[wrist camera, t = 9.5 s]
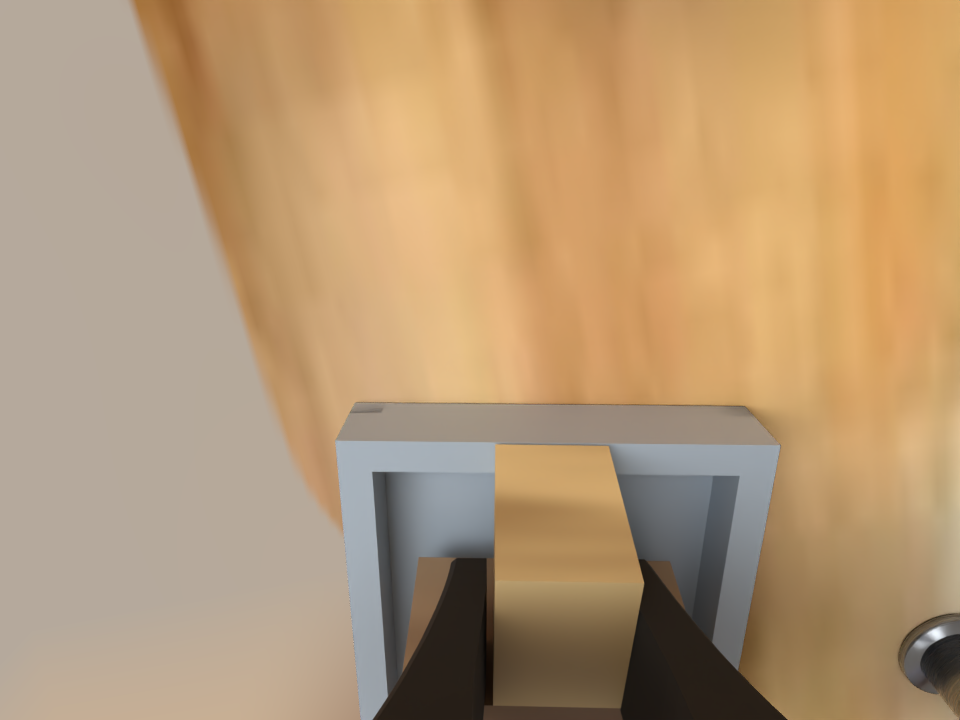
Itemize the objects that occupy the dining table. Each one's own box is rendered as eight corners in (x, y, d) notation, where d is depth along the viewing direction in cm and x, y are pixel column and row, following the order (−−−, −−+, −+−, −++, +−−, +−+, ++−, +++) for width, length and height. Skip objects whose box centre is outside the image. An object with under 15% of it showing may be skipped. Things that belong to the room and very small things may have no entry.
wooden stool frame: (638, 709, 18) (669, 860, 15) (428, 705, 18) (415, 854, 15) (694, 447, 13) (756, 585, 10) (410, 443, 13) (384, 579, 10)
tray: (683, 782, 19) (703, 851, 18) (383, 775, 20) (372, 843, 18) (745, 406, 15) (780, 445, 13) (355, 402, 15) (335, 440, 13)
